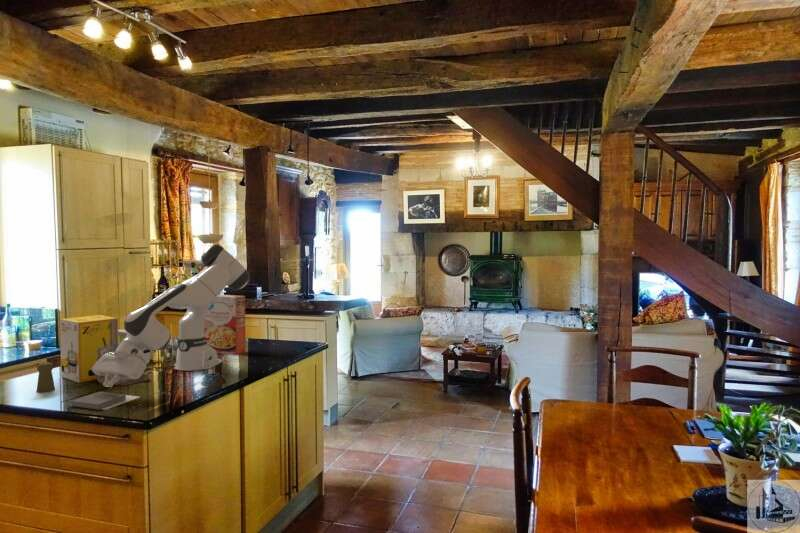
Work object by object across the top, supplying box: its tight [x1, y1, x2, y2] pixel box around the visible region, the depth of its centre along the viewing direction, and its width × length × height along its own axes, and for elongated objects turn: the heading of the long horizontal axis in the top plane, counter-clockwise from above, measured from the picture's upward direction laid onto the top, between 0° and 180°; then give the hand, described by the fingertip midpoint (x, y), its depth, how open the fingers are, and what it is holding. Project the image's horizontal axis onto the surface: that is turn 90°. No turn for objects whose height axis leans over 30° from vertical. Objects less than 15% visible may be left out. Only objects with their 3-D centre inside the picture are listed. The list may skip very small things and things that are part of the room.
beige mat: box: [100, 394, 140, 411], centre depth 191 cm, size 16×16×1 cm
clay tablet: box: [96, 371, 150, 386], centre depth 220 cm, size 14×5×20 cm
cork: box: [36, 361, 56, 394], centre depth 205 cm, size 6×6×11 cm
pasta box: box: [204, 294, 246, 356], centre depth 279 cm, size 23×8×30 cm, turn 71°
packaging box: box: [59, 314, 119, 384], centre depth 227 cm, size 16×16×25 cm
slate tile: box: [70, 391, 127, 410], centre depth 188 cm, size 2×12×12 cm
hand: (106, 386), depth 192 cm, fingers closed
